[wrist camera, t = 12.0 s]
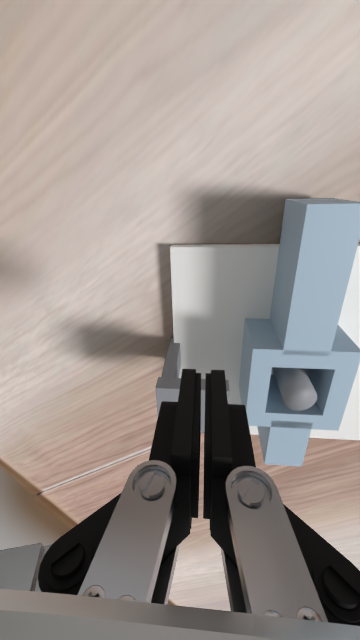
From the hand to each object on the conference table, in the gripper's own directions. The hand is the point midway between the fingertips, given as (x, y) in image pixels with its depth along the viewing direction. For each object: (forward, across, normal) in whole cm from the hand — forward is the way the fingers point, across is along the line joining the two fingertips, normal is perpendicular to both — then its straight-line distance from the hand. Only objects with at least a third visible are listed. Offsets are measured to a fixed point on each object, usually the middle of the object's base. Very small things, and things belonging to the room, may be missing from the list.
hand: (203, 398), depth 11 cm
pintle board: (+15, -7, +7) cm, 18 cm away
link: (+14, -7, +4) cm, 16 cm away
